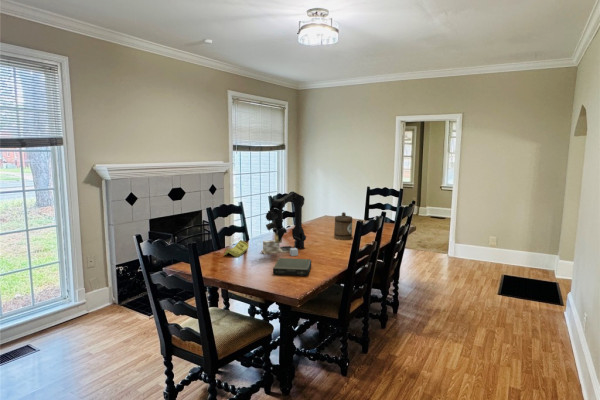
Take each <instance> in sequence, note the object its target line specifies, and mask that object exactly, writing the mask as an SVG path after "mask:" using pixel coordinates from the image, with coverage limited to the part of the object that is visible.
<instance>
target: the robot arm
mask: <svg viewBox="0 0 600 400" xmlns="http://www.w3.org/2000/svg"><path fill="white" fill-rule="evenodd" d="M291 201H292V204H293V207H294V227H293V228H292V229H291V236H292V239H293V240H294V241H293V242H294V246H293V248H297V249H298V250H299V249H306V247H305V241H306V240H307V235H306V234H305V231H304V230H305V229H304V227H303V226H302V222H303V220H302V218H303V216H302V214H303V211H302V208H303V206H304V205H305V197H304V195H302V194H299V193H298V192H296V191H290V192H289V193H287V194H286V195H285V196H283V197H281V198H280V199H279V198H277V199H275V200H273V201H272V204H271V206H270V208H269V210H268V211H267V213H266V214H265V220H266V221H268V222H270V223H267V224H266V225H265V227H266V230H268V231H273V232H274V234H275V233H277V234H278V240H279V242H280V241H281V239H282V240H283V237H284V235H285V234H287V231H288V230H287V229H286V228H285V227H284V225H283V223H284V220H283V212H284V211H285V210H284V208H285V206H286V204H288V203H289V202H291Z"/></svg>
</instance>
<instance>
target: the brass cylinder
mask: <svg viewBox="0 0 600 400" xmlns="http://www.w3.org/2000/svg"><path fill="white" fill-rule="evenodd" d="M274 240H275V243H279V244H281V243H283V238H282V239H281V241H280V242H279V240H278V234H277V233H275V232H274Z"/></svg>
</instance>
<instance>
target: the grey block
mask: <svg viewBox="0 0 600 400" xmlns="http://www.w3.org/2000/svg"><path fill="white" fill-rule="evenodd" d="M289 255H290V256H291V257H297V256H298V257H299V249H297V248H295V247H293V248H290V252H289Z"/></svg>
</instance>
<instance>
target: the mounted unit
mask: <svg viewBox="0 0 600 400" xmlns="http://www.w3.org/2000/svg"><path fill="white" fill-rule="evenodd" d="M290 248H294V246H291V245H287V246H285V245H284V246H280V243H275V239H273V240H272V239H271V240H263V241H262V250H261V252H262V254H264V255H271V254H272V255H273V254H284V253H285V254H286V253H290Z"/></svg>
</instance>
